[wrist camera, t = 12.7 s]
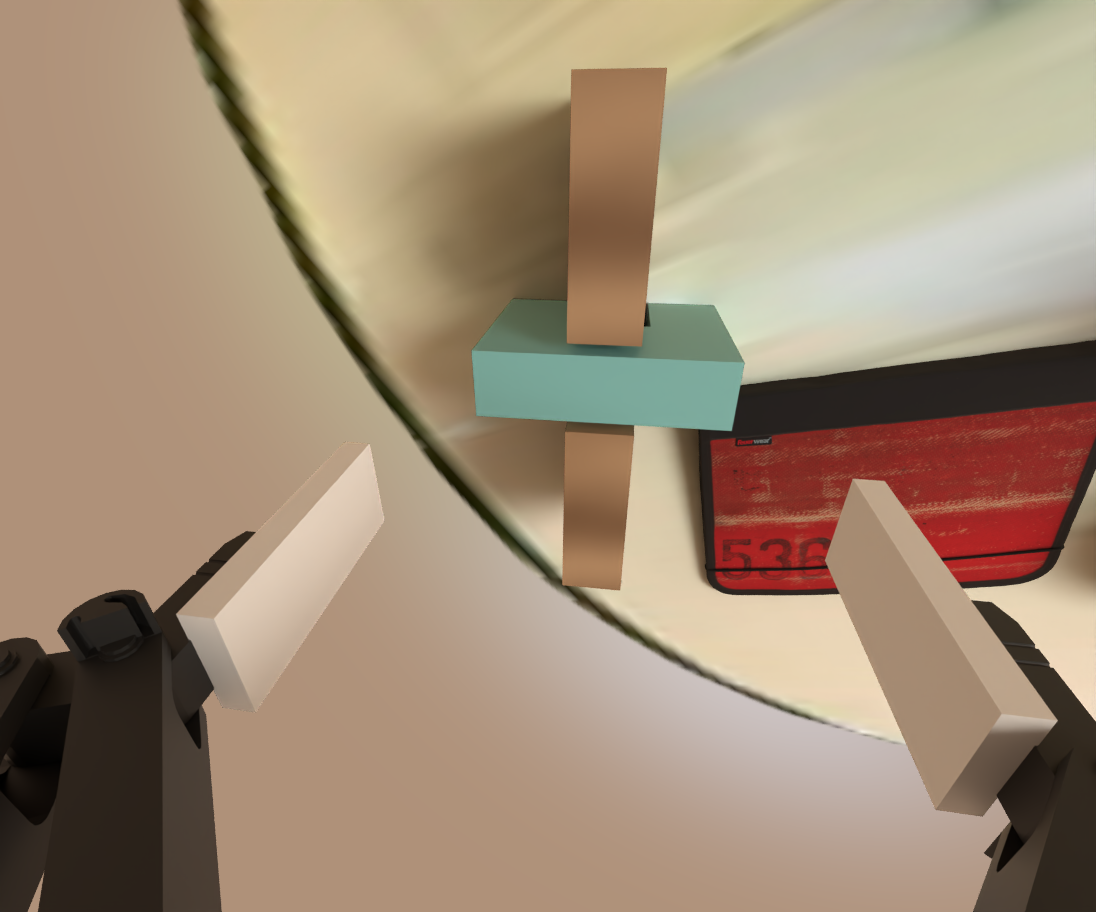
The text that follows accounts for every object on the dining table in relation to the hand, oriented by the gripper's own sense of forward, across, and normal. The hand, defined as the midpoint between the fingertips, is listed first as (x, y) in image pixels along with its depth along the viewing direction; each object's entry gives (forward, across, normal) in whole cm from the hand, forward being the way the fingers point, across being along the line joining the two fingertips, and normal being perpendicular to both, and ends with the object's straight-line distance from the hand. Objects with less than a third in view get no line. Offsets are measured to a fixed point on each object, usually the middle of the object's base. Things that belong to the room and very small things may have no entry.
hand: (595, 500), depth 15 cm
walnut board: (+17, 0, 0) cm, 17 cm away
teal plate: (+17, 0, 0) cm, 17 cm away
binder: (+18, +16, -10) cm, 26 cm away
